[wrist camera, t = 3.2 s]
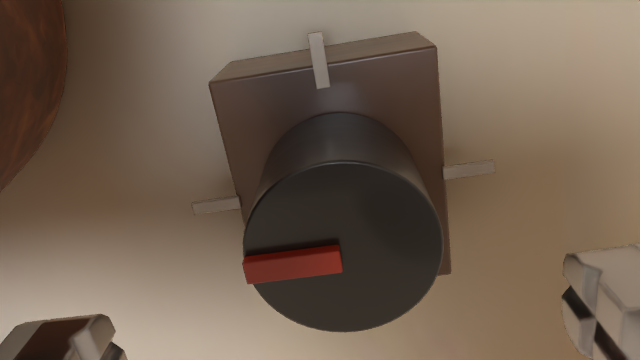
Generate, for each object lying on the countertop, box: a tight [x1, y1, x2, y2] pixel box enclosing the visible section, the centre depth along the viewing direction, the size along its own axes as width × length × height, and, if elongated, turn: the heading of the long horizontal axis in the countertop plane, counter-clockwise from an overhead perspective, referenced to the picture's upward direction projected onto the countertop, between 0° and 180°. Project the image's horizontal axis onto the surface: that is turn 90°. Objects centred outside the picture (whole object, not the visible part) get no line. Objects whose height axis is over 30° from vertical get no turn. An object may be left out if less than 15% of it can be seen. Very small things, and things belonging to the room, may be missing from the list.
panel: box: [191, 31, 494, 276], centre depth 15 cm, size 9×9×3 cm
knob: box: [242, 113, 444, 332], centre depth 12 cm, size 4×4×4 cm
